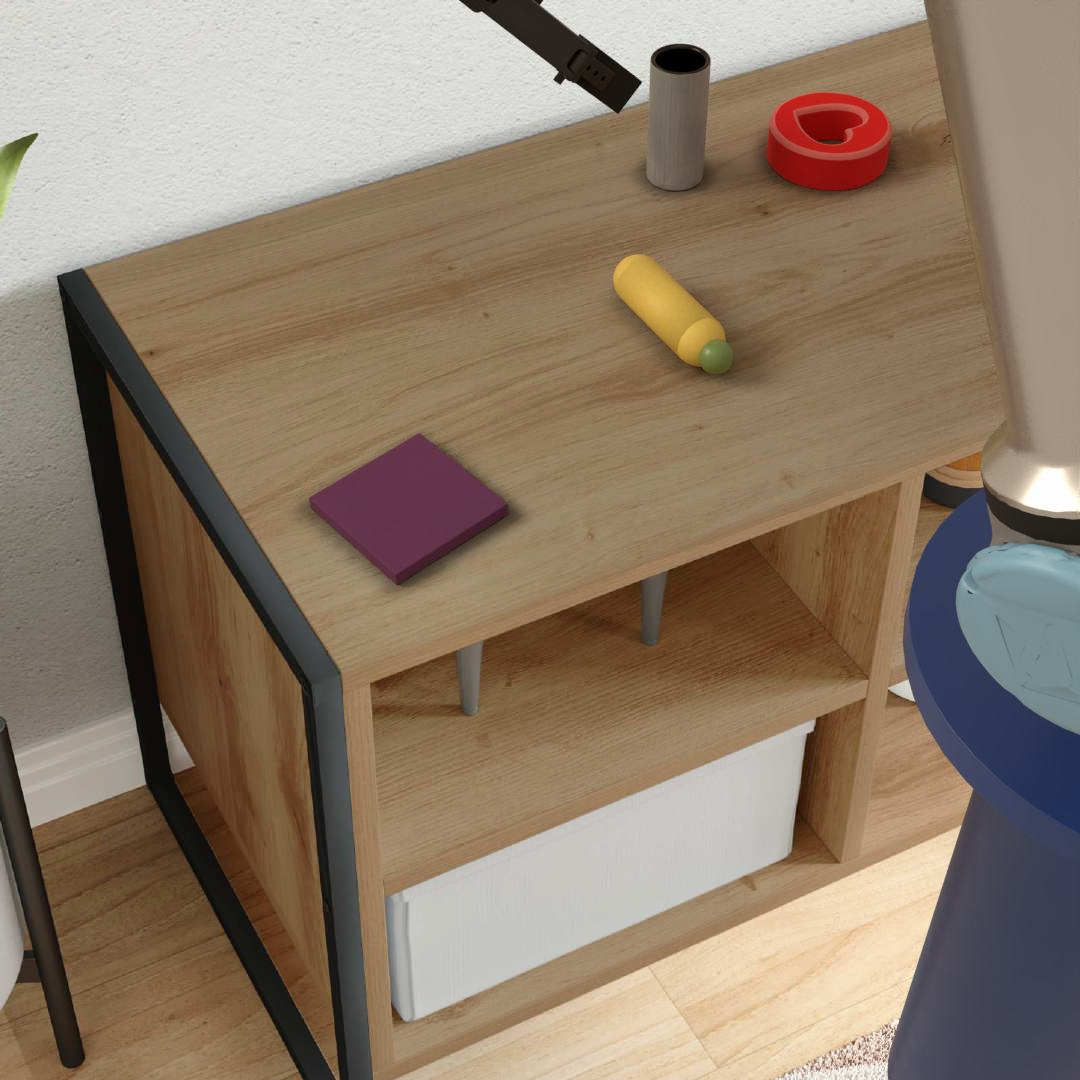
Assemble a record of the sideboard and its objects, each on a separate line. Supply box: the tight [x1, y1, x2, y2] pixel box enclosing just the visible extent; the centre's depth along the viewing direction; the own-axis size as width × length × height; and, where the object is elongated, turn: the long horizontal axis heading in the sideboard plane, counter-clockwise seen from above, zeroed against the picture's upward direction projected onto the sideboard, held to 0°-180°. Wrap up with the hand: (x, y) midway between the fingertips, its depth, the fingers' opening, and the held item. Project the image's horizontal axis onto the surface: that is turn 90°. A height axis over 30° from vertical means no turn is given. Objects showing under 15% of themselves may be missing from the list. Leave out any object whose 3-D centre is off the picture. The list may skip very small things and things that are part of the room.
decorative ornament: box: [766, 91, 893, 191], centre depth 126 cm, size 10×10×3 cm
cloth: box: [308, 432, 509, 586], centre depth 100 cm, size 9×9×1 cm
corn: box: [612, 253, 734, 375], centre depth 111 cm, size 13×4×4 cm, turn 30°
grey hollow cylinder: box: [645, 43, 712, 192], centre depth 122 cm, size 4×4×10 cm
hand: (577, 52), depth 113 cm, fingers open, 13 cm apart
